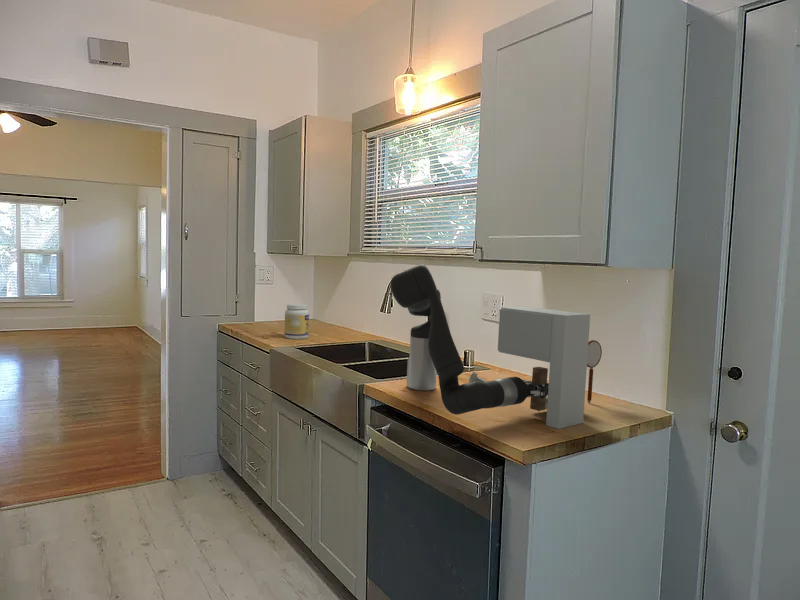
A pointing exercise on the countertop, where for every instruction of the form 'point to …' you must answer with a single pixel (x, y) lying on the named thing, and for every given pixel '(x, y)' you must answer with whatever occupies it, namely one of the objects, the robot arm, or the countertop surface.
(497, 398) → the robot arm
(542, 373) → the tall wooden block
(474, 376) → the caliper
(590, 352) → the magnifying glass
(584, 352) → the grey inverted l-bracket
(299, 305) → the supplement tub
